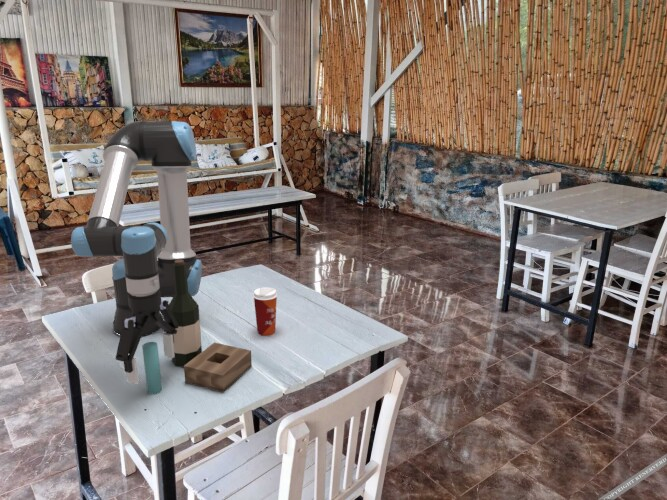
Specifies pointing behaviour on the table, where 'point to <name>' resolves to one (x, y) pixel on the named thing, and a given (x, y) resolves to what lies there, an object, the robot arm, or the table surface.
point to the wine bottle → (184, 318)
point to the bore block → (218, 367)
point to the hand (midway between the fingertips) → (152, 368)
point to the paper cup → (265, 310)
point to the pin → (152, 367)
